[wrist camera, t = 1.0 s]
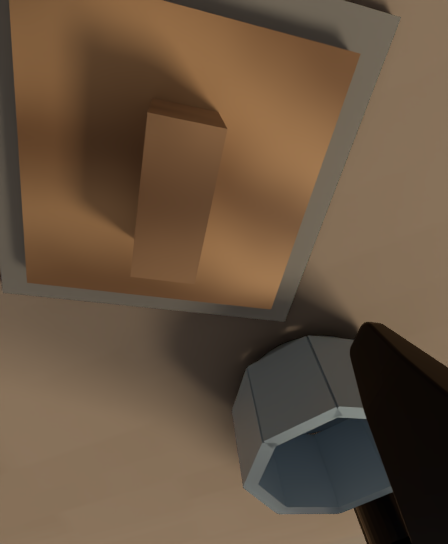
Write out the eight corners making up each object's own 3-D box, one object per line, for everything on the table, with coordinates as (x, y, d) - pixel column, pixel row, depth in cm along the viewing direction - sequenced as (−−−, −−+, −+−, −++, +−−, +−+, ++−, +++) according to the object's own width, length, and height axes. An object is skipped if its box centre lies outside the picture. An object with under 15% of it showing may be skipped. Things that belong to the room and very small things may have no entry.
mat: (282, 315, 22) (284, 321, 22) (7, 285, 19) (2, 292, 19) (393, 17, 15) (401, 17, 14) (-31, -108, 12) (-40, -115, 11)
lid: (267, 298, 21) (284, 349, 17) (33, 271, 18) (1, 324, 15) (350, 52, 15) (401, 58, 11) (18, -37, 12) (-42, -63, 9)
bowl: (345, 430, 29) (380, 513, 24) (220, 425, 27) (230, 514, 22) (403, 334, 24) (463, 413, 19) (256, 319, 22) (279, 403, 17)
